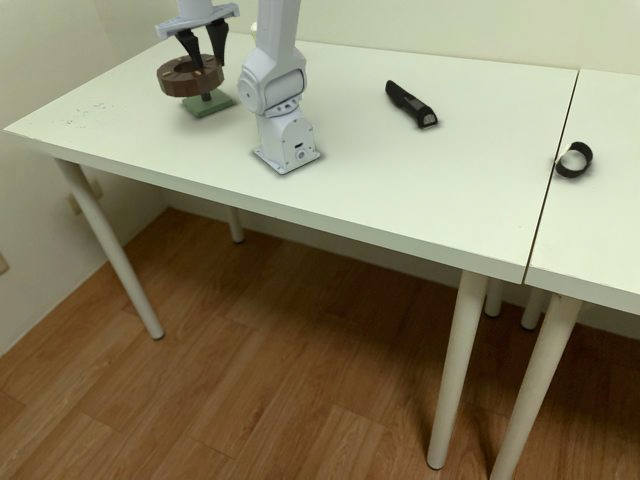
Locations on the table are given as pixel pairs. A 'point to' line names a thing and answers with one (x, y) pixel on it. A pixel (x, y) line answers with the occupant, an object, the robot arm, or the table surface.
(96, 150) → the table surface
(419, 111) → the electric trimmer
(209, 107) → the rack
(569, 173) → the watch
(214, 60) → the clock ring
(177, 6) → the robot arm
